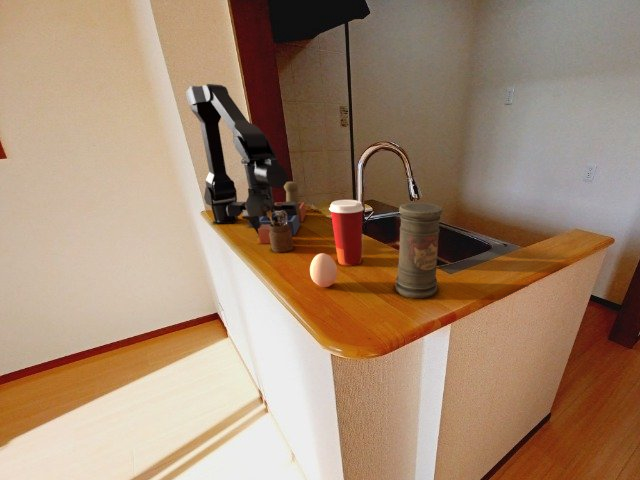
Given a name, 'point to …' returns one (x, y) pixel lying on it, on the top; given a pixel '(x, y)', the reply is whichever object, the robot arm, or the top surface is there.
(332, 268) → the egg
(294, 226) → the blue bin
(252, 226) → the slate block
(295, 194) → the cork
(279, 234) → the utensil holder
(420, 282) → the container
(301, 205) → the terracotta bin
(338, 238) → the coffee cup
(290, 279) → the top surface
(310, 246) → the top surface
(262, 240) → the terracotta block
